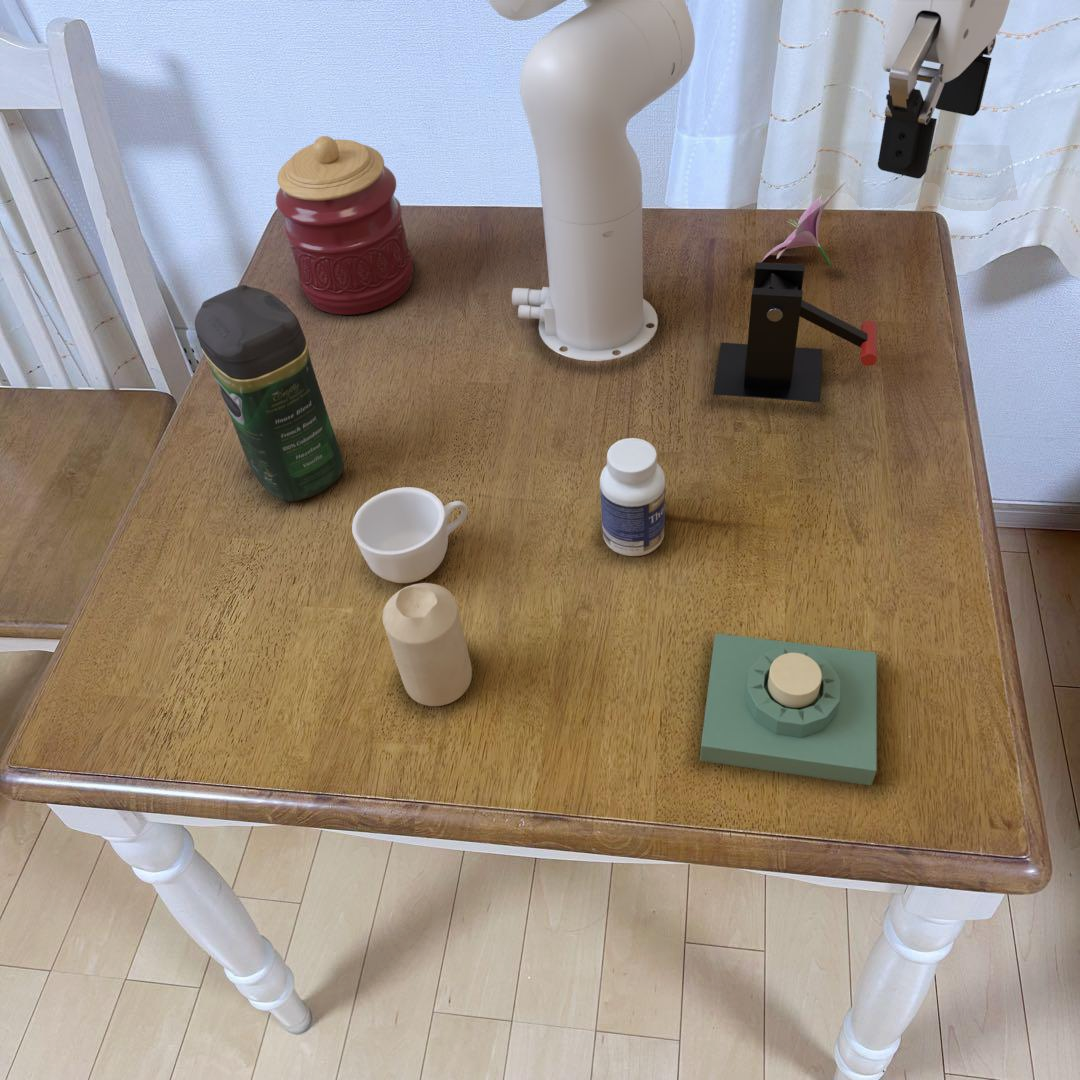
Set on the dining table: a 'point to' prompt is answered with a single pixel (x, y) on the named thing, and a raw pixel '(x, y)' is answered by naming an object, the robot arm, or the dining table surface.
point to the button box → (791, 712)
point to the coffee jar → (270, 391)
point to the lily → (806, 228)
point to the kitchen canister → (344, 226)
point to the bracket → (771, 345)
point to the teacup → (405, 533)
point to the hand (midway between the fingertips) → (929, 140)
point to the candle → (428, 643)
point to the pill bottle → (632, 498)
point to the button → (794, 680)
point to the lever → (834, 323)
